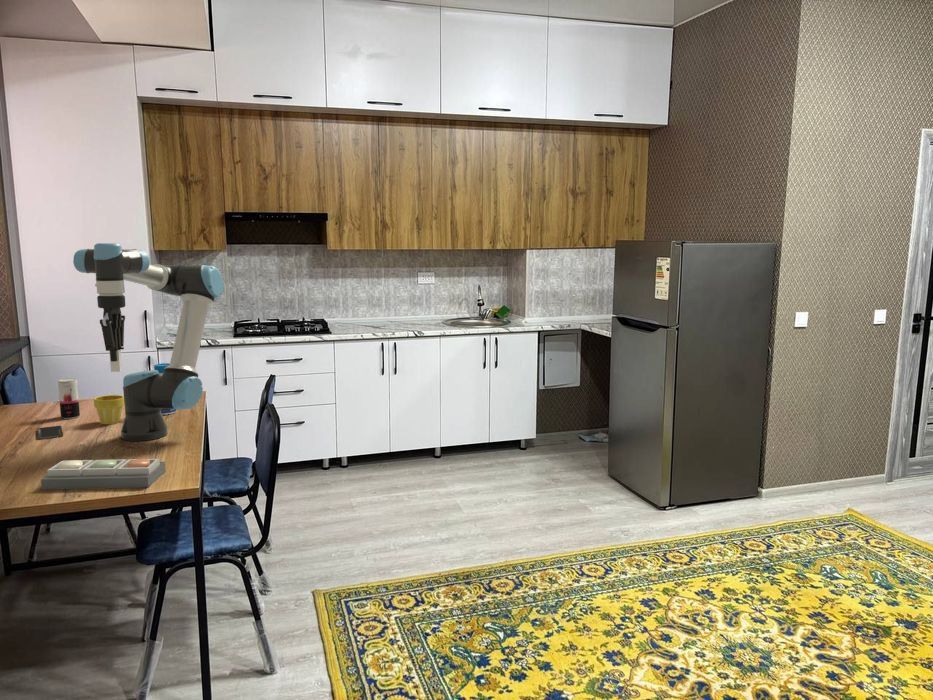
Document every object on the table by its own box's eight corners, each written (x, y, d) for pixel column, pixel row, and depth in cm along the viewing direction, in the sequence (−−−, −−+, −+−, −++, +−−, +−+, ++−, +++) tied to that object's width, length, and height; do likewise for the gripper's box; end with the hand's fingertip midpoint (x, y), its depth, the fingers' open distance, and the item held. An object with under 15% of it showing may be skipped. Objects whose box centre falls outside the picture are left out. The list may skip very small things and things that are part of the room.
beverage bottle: (180, 410, 288) (177, 362, 285) (172, 415, 279) (169, 366, 276) (159, 410, 287) (156, 362, 284) (151, 415, 279) (148, 366, 276)
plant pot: (130, 418, 274) (128, 394, 272) (118, 425, 263) (116, 400, 262) (103, 418, 273) (101, 394, 272) (90, 425, 263) (88, 400, 262)
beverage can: (72, 419, 272) (68, 381, 270) (57, 418, 273) (53, 381, 271) (83, 415, 278) (80, 378, 276) (69, 414, 279) (65, 378, 277)
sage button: (99, 465, 206) (98, 459, 205) (120, 465, 206) (119, 459, 206) (89, 472, 200) (89, 466, 199) (111, 471, 200) (111, 465, 200)
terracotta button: (132, 465, 206) (132, 459, 206) (153, 464, 207) (152, 458, 207) (124, 471, 200) (123, 465, 200) (145, 471, 201) (145, 465, 201)
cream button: (65, 466, 205) (65, 460, 205) (86, 465, 205) (86, 460, 205) (55, 472, 199) (54, 466, 199) (77, 472, 199) (76, 466, 199)
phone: (37, 437, 244) (37, 428, 256) (37, 441, 244) (37, 431, 257) (63, 434, 248) (61, 425, 261) (63, 437, 248) (62, 428, 261)
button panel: (66, 473, 209) (64, 457, 208) (165, 471, 211) (164, 456, 211) (41, 489, 195) (40, 473, 195) (148, 487, 198) (147, 471, 197)
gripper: (107, 293, 217) (112, 367, 221) (88, 296, 204) (94, 375, 208) (132, 293, 218) (137, 367, 221) (114, 296, 205) (120, 375, 208)
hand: (116, 371), depth 215 cm, fingers closed
